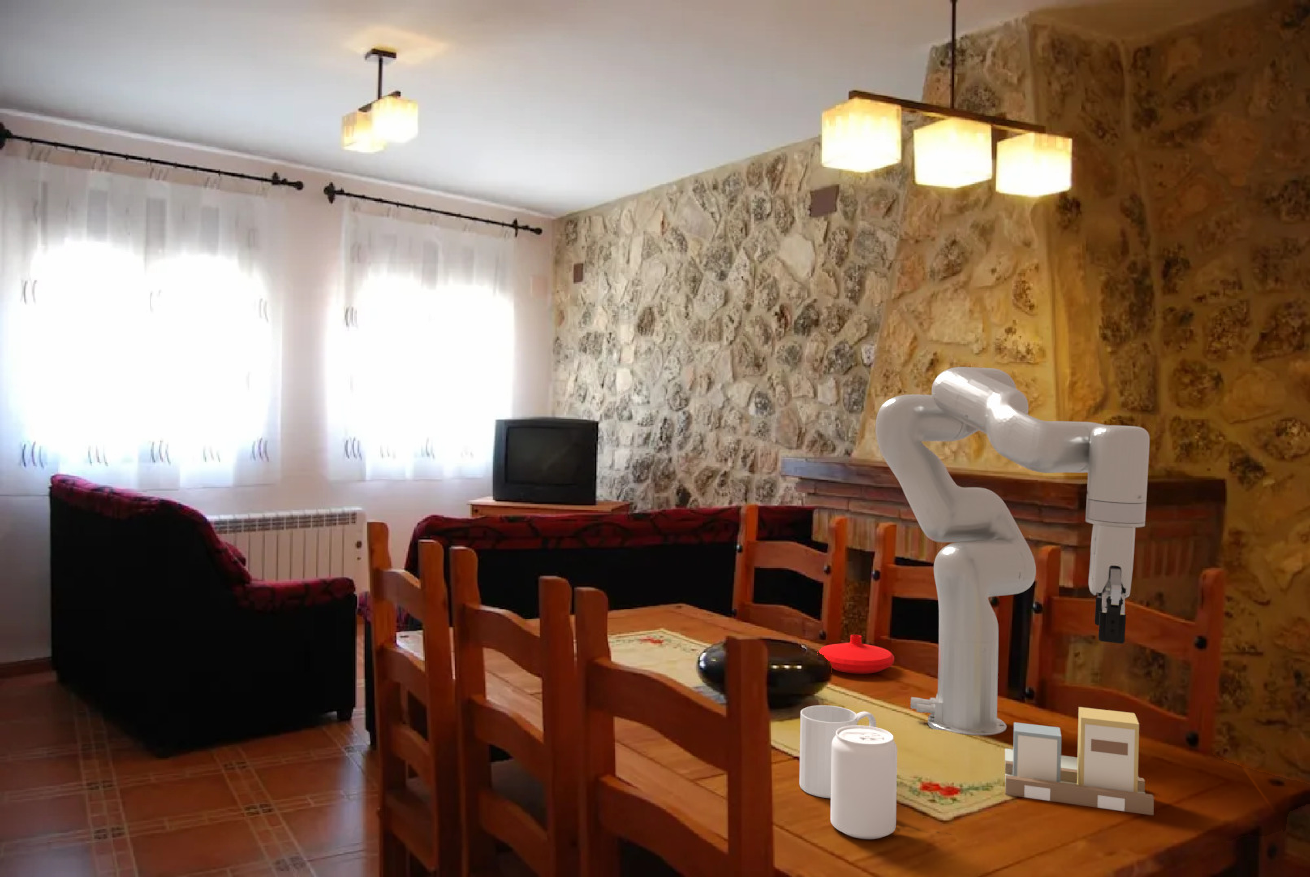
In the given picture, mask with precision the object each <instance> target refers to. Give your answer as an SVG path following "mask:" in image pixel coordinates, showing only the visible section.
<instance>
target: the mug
mask: <svg viewBox="0 0 1310 877" xmlns="http://www.w3.org/2000/svg"><path fill="white" fill-rule="evenodd" d="M866 717H867V718H868V722H869V723H868V726H872V727H877V721H876V717H875V716H874V715H873V714H872V713H871V712H869V711H865V710H864V711H860V712H858V713H856V712H855V711H853V710H851V709H848V708H846V707H841V706H836V705H825V704H824V705H823V704H821V705H820V704H819V705H818V704H817V705H811V706H807V707H805V708H802V709H801V710H800V720H799V721H800V727H799V732H800V733H799V778H798V779H799V786H800V789H801V790H802V791H804V792H805V793H807V794H809V795H812V796H815V797H820V798H825V799H831V757H832V740H833V738H834V737H835V736H836V731H837V730H838V729H839V728H841V727H845V726H852V725H858V722H859V721H861V720H862V719H864V718H866Z"/></svg>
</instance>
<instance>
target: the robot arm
mask: <svg viewBox="0 0 1310 877" xmlns="http://www.w3.org/2000/svg"><path fill="white" fill-rule="evenodd" d="M978 431H979V432H982V433H983V434H986V435H987V438H988V441H989V443H990V444H991V447H992V448H993V449H994V451H996V452H997V453H998V454H999V455H1000V456H1002V457H1004V458H1006V459H1007V460H1009V461H1011V462H1013V463H1015V464H1016V465H1018V466H1021V467H1023V468H1025V469H1027V470H1030V471H1033V472H1035V473H1041V474H1055V473H1058V474H1059V473H1071V474H1073V473H1075V474H1076V473H1078V474H1079V473H1080V474H1081V473H1087V486H1086V488H1087V489H1086V505H1085V506H1086V507H1085V522H1086V523H1088V524H1092V531H1091V539H1090V540H1091V541H1090V556H1089V557H1090V559H1089V569H1088V570H1089V571H1088V572H1089V573H1088V588H1089V591H1090V593H1091V594H1092V595H1093V596H1096V595H1097V597H1095V608H1094V609H1095V611H1094V624H1095V626H1098V641H1100V642H1104V643H1105V642H1106V643H1115V644H1119V645H1120V644H1121V645H1122V644H1124V643H1125V640H1126V639H1125V638H1126V637H1125V636H1126V621H1127V620H1126V619H1127V614H1126V613H1125V612H1126V606H1125V605H1126V603H1125V602H1126V598H1128V597H1130V594H1131V589H1132V588H1131V587H1132V579H1133V570H1134V559H1135V558H1134V555H1135V542H1136V541H1135V539H1136V528H1143V527H1145V526H1146V516H1147V515H1146V514H1147V513H1146V512H1147V495H1148V494H1147V493H1148V479H1149V478H1148V475H1149V462H1150V461H1149V458H1150V433H1149V432H1148V431H1147V429H1145V428H1143V427H1141V426H1134V425H1115V424H1113V425H1112V424H1111V425H1110V424H1103V423H1098V422H1090V421H1075V420H1074V421H1073V420H1071V421H1067V420H1066V421H1065V420H1061V421H1060V420H1052V421H1051V420H1050V421H1049V420H1042V419H1039V418H1036V417H1035V416H1031V415H1030V414H1029V402H1028V399H1027V396H1026V395H1025V394H1024V393H1023V392H1022V391H1020V390H1019V389H1017V386H1016V383H1015V381H1014V379H1013V378H1012V377H1011V376H1010V374H1008V373H1007V372H1005V371H1003V370H1001V369H999V368H993V367H973V366H972V367H971V366H970V367H969V366H957V367H956V366H955V367H951V368H948V369H945V370H943V371H942V372H940V373H939V374H938V375H937V376H936V378H935V379H934V381H933V382H932V386H931V394H916V393H915V394H911V393H910V394H903V395H897V396H894V397H891V398H890V399H888V400H886V401H885V402H883V403H882V404H881V407H879V409H878V411H877V415H876V418H875V438H876V442H877V446H878V450H879V451H880V453H881V456H882V457H883V459H884V461H885V463H886V464H887V466H888V468H889V469H890V470H891V472H892V473H893V474H894V477H895V478H896V479H897V481H898V482H899V485H900V486H901V489H902V491H903V494H904V495H905V498H906V500H907V502H908V504H909V506H910V509H911V510H912V512H913V514H914V516H915V519H916V520H917V523H918V525H919V527H920V529H921V531H922V533H924V535H925V536H926V537H927V538H928V539H930V540H931V541H934V542H936V543H937V542H938V543H949V544H947V545H946V546H944V547H942V549H939V552H937V555H936V556H935V559H934V563H933V575H934V577H933V578H934V582H935V587H936V594H937V600H938V661H937V662H938V663H937V664H938V669H937V670H938V671H937V672H938V673H937V693H936V694H935V695H936V696H935V697H930V698H929V699H928V698H927V699H926V698H922V697H915V696H914V697H913V696H911V697H910V709H914V710H916V713H922V714H923V713H927V714H929V715H928V716H927V724H928V726H929V728H930V729H933V730H937V731H947V732H951V733H955V734H959V735H969V736H993V735H997V734H1001V733H1003V732H1005V731H1006V730H1007V728H1008V727H1007V723H1005V722H1004V721H1003V720H1002V719H1000V718H998V684H999V683H998V681H999V680H998V679H999V676H998V674H999V623H998V619H997V615H996V613H995V611H994V609H993V607H992V605H991V603H990V600H989V598H992V597H999V596H1002V597H1003V596H1010V595H1018V594H1021V593H1024V592H1025V591H1027V590H1029V589H1030V588H1031V586H1033V584H1034V582H1035V579H1036V576H1037V569H1036V568H1037V566H1036V562H1035V557H1034V555H1033V553H1032V550H1031V549H1030V546H1029V544H1028V542H1027V541H1026V539H1025V537H1024V536H1023V533H1022V532H1021V529H1020V528H1019V526H1018V524H1017V522H1016V520H1015V519H1014V517H1013V515H1012V513H1011V511H1010V509H1009V508H1008V507H1007V504H1006V503H1005V501H1004V500H1003V499H1002V498H1001V497H1000V496H999V495H998V494H997V493H996V492H994V491H992V490H990V489H989V488H988V489H987V488H985V487H977V486H976V487H975V486H974V487H973V486H972V487H961V486H960V485H958V484H956V482H955V481H954V479H953V478H952V476H951V475H950V473H949V471H948V469H947V467H946V465H945V463H943V461H942V459H941V458H940V457H939V456H938V455H937V454H936V453H934V452H933V451H932V450H930V449H929V448H928V447H927V446H926V445H924V443H923V442H956V441H959V440H964V439H965V438H967V437H969V436H971V435H973V434H975V433H977V432H978Z"/></svg>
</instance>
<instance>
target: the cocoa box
mask: <svg viewBox="0 0 1310 877" xmlns="http://www.w3.org/2000/svg"><path fill="white" fill-rule="evenodd" d="M1061 733H1062V732H1061V727H1058V726H1049V725H1041V724H1040V725H1039V724H1033V723H1022V722H1015V721H1014V722H1013V746H1012V747H1013V748H1012V749H1013V776H1017V777H1024V778H1032V779H1039V780H1046V781H1054V782H1060V778H1061V755H1062V734H1061Z"/></svg>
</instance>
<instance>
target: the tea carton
mask: <svg viewBox="0 0 1310 877" xmlns="http://www.w3.org/2000/svg"><path fill="white" fill-rule="evenodd" d="M1077 716H1078V721H1077V723H1078V724H1077V725H1078V726H1077V757H1078V758H1077V785H1084V786H1091V787H1099V788H1106V789H1114V790H1121V791H1129V792H1136V793H1137V792H1138V776H1139V743H1140V742H1139V740H1140V733H1139V732H1140V723H1139V720H1138V717H1137V716H1136V714H1135V712H1126V711H1118V710H1111V709H1108V710H1106V709H1101V708H1099V709H1098V708H1091V707H1082V706H1078V714H1077Z"/></svg>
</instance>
